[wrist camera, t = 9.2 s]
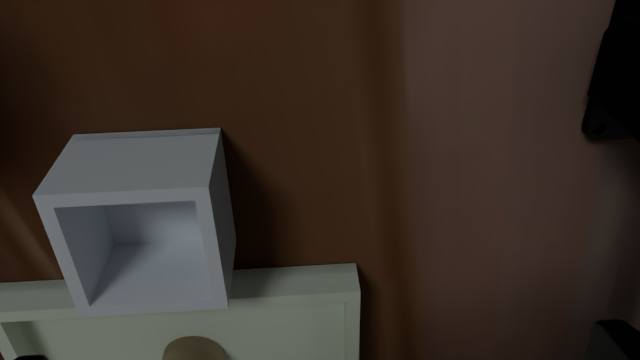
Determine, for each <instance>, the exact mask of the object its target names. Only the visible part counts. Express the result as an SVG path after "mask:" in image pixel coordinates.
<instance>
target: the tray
mask: <svg viewBox="0 0 640 360" xmlns="http://www.w3.org/2000/svg"><path fill="white" fill-rule="evenodd" d="M359 331H360V285H359V279H358V273H357V267H356V263H348V264H331V265H313V266H295V267H277V268H259V269H241V270H233V274H232V282H231V291H230V300H229V308H228V309H211V310H194V311H177V312H159V313H142V314H125V315H108V316H91V317H79V315H78V312H77V310H76V307H75V304H74V302H73V299H72V297H71V294H70V292H69V289H68V286H67V284H66V281H65V279H63V280H45V281H27V282H10V283H0V352H1V354H2V355H3V357H4V359H5V360H14V359H16V358H17V357H19V356H23V355H38V354H42V355H45V356H46V357H48V359H49V360H162V358H163V353H164V350H165V348H166V346H167V345H168V344H169V343H170V342H172V341H173V340H175V339H178V338H181V337H186V336H199V337H204V338H208V339H210V340H213V341H214V342H216V343H217V344H219V345H220V346H221V347H222V349H223V350H224V352H225V360H359Z"/></svg>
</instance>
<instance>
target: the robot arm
mask: <svg viewBox="0 0 640 360" xmlns="http://www.w3.org/2000/svg"><path fill="white" fill-rule="evenodd" d="M588 96H589V101H588V104H587V108H586V112H585V115H584V119H583V123H582V131H583V133H584V134H585V135H586V136H587V137H588V138H590V139H591V140H610V139H630V138H634V139H636V140H637V141H638V142H639V143H640V0H616V2H615V6H614V10H613V13H612V17H611V21H610V24H609V27H608V28H607V29H606V31H605V32H604V35H603V39H602V42H601V46H600V50H599V54H598V57H597V61H596V65H595V68H594V72H593V76H592V79H591V83H590V87H589V90H588ZM599 123H601V125H600V126H599V127H598V128H597V129H594V130H593V128H594V126H595V125H597V124H599ZM14 360H49V359H48V357H46V356H45V355H42V354H38V355H23V356H19V357H17V358H16V359H14ZM583 360H640V332H639V331H638V330H637V329H635V328H634V327H632V326H631V325H630V324H628V323H627V322H625V321H623V320H619V319H613V320H599V321H597V322H596V323H594V325H593V327H592V330H591V332H590V335H589V338H588V340H587V343H586V346H585V348H584V351H583Z"/></svg>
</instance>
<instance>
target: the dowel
mask: <svg viewBox="0 0 640 360" xmlns="http://www.w3.org/2000/svg"><path fill="white" fill-rule="evenodd" d="M162 360H225V352H224V350H223V349H222V347H221V346H220V345H219V344H217V343H216V342H214V341H213V340H210V339H208V338H204V337H199V336H186V337H181V338H178V339H175V340H173V341H172V342H170V343H169V344H168V345H167V346H166V348H165V350H164V353H163V358H162Z"/></svg>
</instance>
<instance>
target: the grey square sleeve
mask: <svg viewBox="0 0 640 360" xmlns="http://www.w3.org/2000/svg"><path fill="white" fill-rule="evenodd" d="M33 199H34V201H35V204H36V206H37V209H38V212H39V214H40V217H41V219H42V222H43V225H44V227H45V230H46V232H47V235H48V237H49V240H50V243H51V245H52V248H53V250H54V253H55V255H56V258H57V261H58V263H59V266H60V268H61V271H62V273H63V276H64V279H65V281H66V284H67V286H68V289H69V292H70V294H71V297H72V299H73V302H74V304H75V307H76V310H77V312H78V315H79V317H91V316H108V315H125V314H142V313H159V312H177V311H194V310H211V309H228V308H229V300H230V291H231V282H232V274H233V265H234V256H235V247H236V234H235V227H234V220H233V213H232V205H231V198H230V191H229V184H228V177H227V170H226V163H225V156H224V149H223V142H222V134H221V128H204V129H183V130H162V131H141V132H119V133H98V134H77V135H73V136H72V138H71V139H70V141H69V142H68V144H67V145H66V147H65V148H64V150H63V151H62V153H61V154H60V156H59V157H58V158H57V160H56V161H55V163H54V164H53V166H52V167H51V169H50V170H49V172H48V173H47V175H46V176H45V178H44V179H43V181H42V182H41V184H40V185H39V187H38V188H37V190H36V191H35V193H34V194H33Z"/></svg>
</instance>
